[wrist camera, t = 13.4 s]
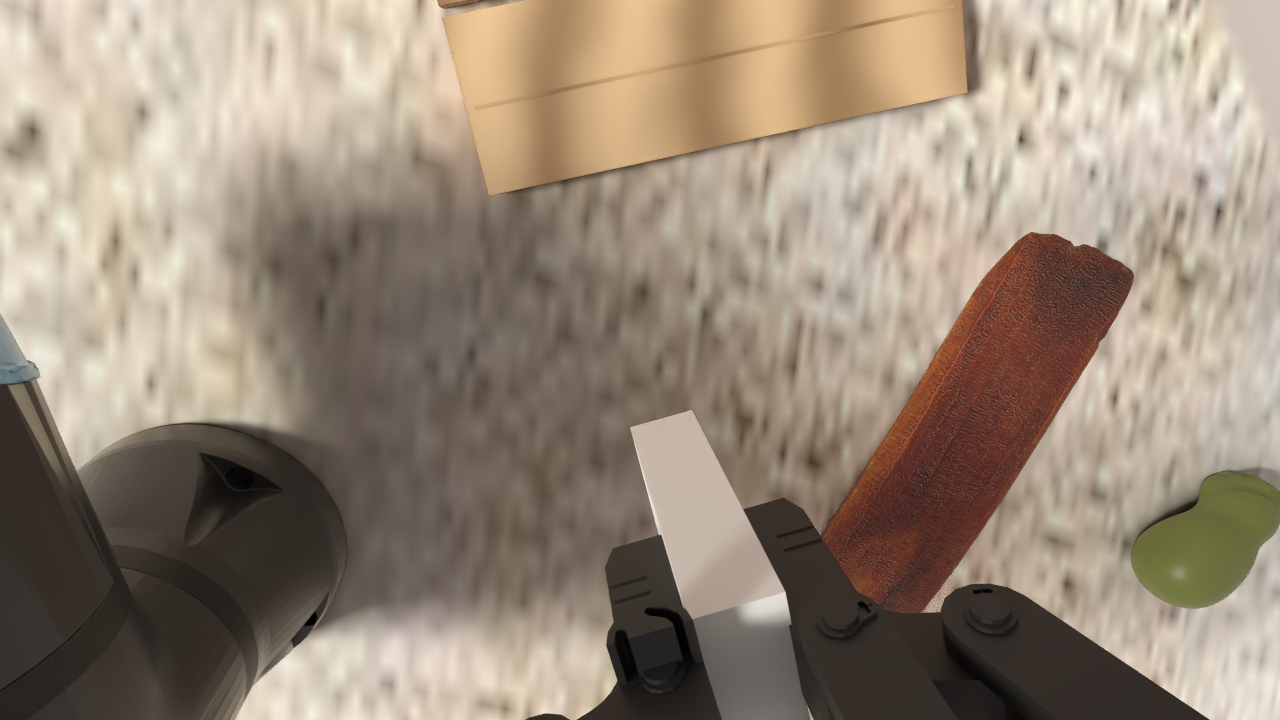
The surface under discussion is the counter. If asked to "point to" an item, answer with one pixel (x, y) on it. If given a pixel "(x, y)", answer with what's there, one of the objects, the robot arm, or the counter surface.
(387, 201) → the counter surface
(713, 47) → the plank
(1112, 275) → the wooden tablet
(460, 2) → the laid boards
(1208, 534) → the pear
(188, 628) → the robot arm
